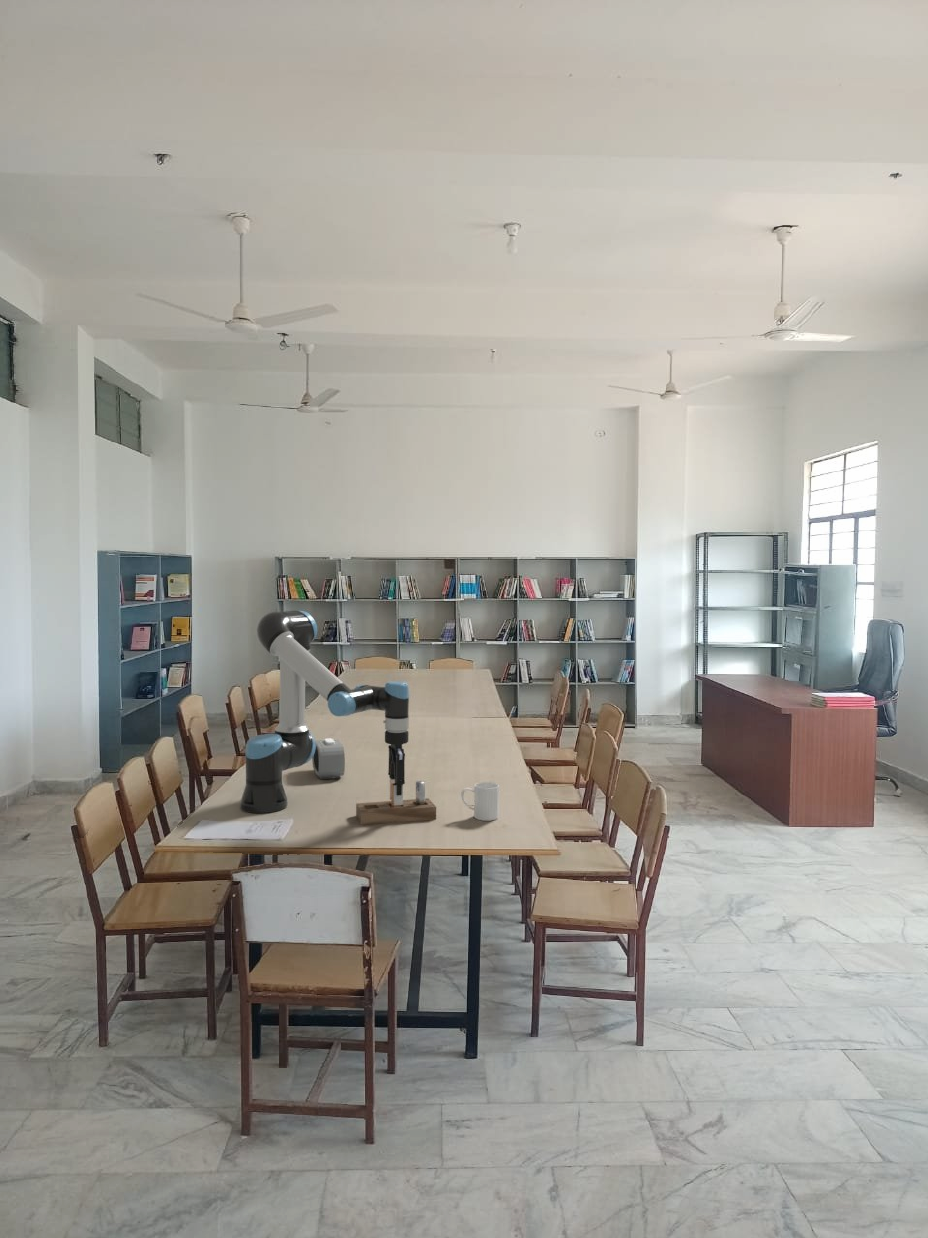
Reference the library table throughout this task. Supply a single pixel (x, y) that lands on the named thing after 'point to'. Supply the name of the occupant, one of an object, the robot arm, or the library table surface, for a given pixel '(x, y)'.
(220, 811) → the library table surface
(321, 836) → the library table surface
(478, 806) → the mug
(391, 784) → the orange rounded rod
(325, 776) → the alarm clock
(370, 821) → the hole block
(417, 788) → the grey peg
